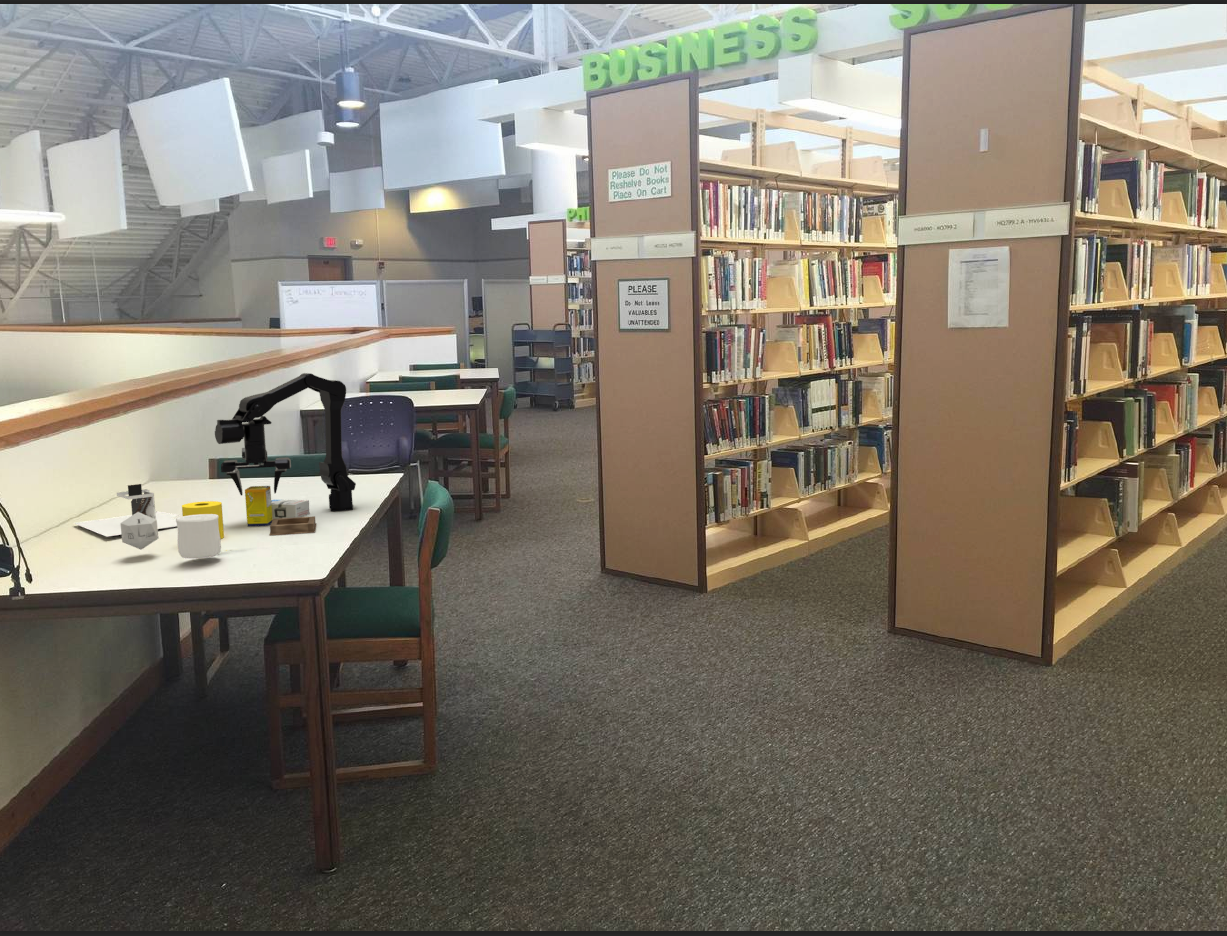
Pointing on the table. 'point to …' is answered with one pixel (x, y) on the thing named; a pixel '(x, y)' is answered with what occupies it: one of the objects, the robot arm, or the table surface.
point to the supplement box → (258, 506)
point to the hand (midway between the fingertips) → (258, 494)
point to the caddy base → (293, 525)
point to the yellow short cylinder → (205, 511)
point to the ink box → (289, 508)
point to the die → (139, 530)
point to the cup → (198, 536)
